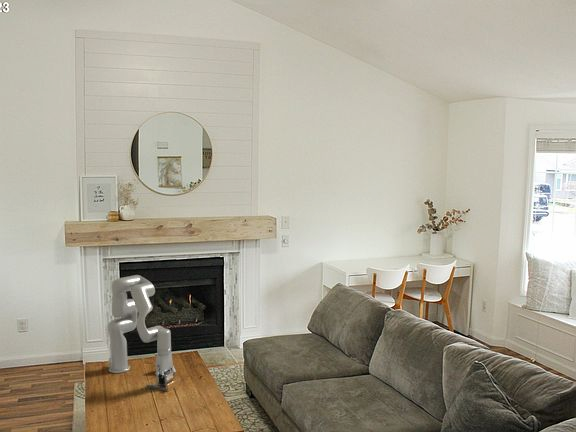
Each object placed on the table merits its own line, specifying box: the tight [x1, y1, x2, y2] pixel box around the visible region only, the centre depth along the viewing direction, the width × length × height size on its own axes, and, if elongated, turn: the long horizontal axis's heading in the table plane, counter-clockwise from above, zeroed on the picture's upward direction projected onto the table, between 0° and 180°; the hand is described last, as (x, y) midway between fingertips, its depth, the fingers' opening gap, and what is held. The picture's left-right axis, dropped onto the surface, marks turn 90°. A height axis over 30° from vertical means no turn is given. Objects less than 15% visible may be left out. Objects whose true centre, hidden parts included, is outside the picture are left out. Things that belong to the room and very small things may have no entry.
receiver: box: [146, 377, 182, 393], centre depth 322 cm, size 15×14×4 cm
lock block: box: [156, 371, 174, 387], centre depth 321 cm, size 7×6×7 cm
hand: (165, 381), depth 322 cm, fingers closed on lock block, 5 cm apart
